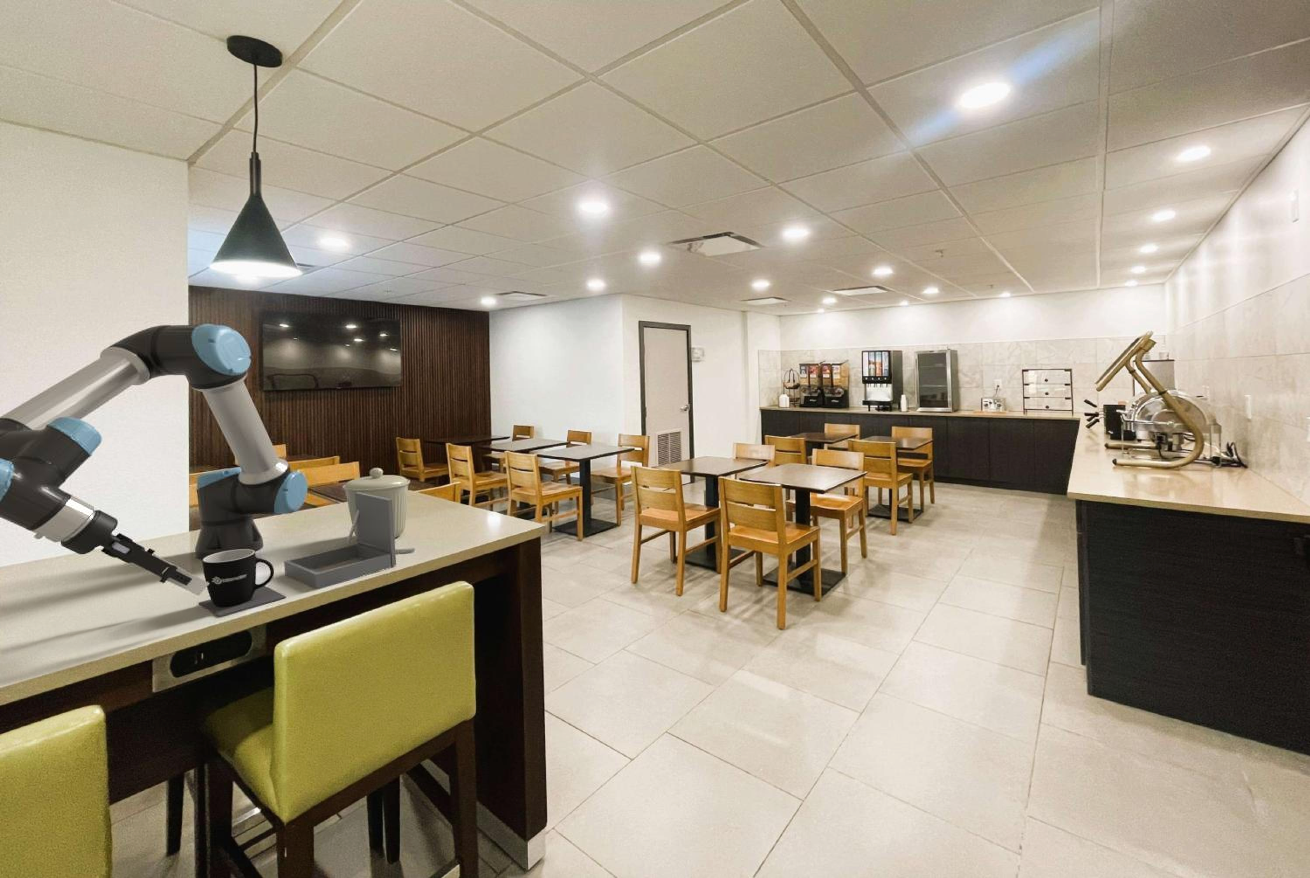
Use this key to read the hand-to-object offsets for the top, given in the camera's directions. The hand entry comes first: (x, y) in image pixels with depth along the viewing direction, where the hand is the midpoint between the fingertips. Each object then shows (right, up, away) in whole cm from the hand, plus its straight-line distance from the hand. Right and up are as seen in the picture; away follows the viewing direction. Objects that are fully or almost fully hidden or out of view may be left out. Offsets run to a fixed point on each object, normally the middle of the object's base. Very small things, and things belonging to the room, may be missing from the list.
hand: (191, 582), depth 113 cm
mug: (+5, -6, +7) cm, 11 cm away
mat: (+5, -6, +8) cm, 11 cm away
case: (+15, -4, +26) cm, 30 cm away
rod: (+22, -3, +40) cm, 45 cm away
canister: (+11, -1, +56) cm, 57 cm away
